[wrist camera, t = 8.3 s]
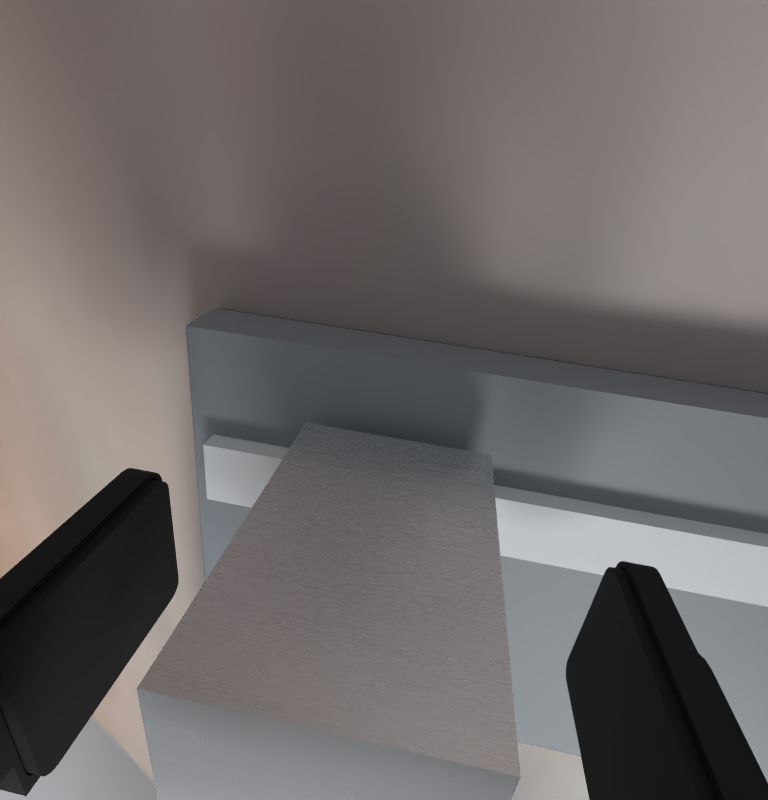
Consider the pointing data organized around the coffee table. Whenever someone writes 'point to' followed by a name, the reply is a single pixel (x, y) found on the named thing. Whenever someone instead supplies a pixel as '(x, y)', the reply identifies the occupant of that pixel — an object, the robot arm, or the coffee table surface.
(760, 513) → the plate
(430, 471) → the sliding block
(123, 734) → the coffee table surface
